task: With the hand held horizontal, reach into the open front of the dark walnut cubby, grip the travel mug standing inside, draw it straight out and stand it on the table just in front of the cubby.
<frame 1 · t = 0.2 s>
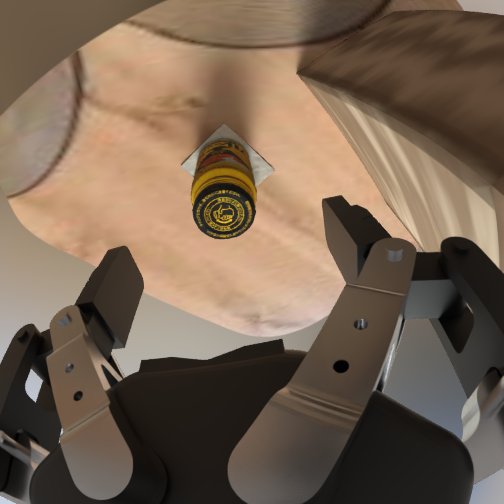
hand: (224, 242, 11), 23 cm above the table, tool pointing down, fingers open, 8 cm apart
condiment: (227, 166, 34), on the table
cubby: (399, 111, 30), on the table
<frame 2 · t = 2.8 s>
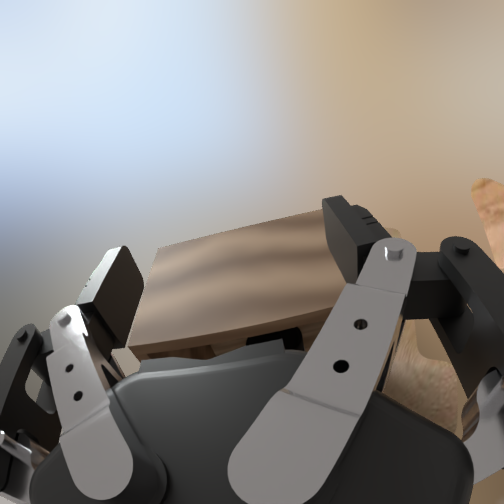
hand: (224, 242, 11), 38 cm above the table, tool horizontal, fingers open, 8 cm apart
travel mug: (294, 414, 41), on the table
cubby: (292, 405, 42), on the table
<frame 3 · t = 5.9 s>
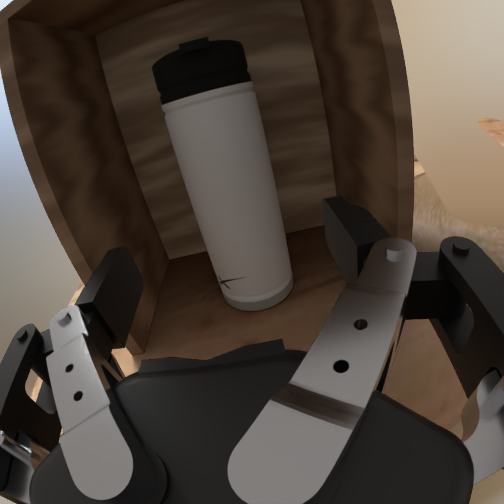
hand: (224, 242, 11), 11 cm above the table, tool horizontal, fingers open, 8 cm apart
travel mug: (259, 290, 26), on the table
cubby: (257, 278, 27), on the table
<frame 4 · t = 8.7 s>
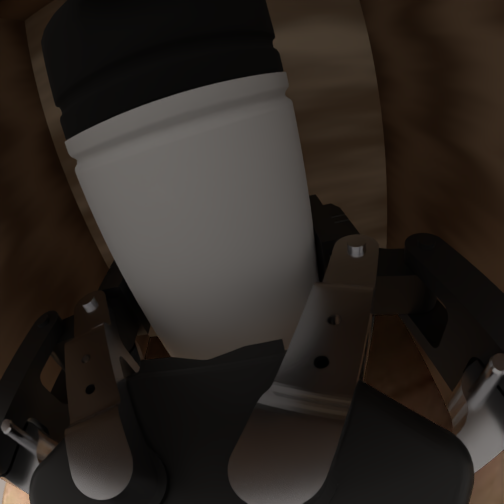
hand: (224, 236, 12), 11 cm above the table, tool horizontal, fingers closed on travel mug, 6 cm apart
travel mug: (276, 415, 16), on the table, touching gripper
cubby: (274, 393, 17), on the table
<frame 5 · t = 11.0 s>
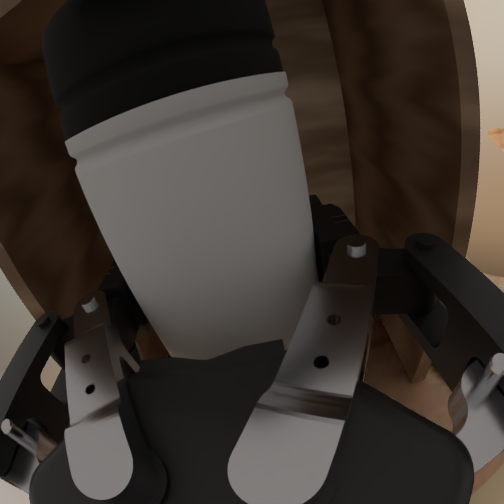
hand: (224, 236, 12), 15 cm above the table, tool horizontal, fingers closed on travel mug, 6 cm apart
travel mug: (276, 414, 16), point 4 cm above the table, touching gripper
cubby: (272, 348, 25), on the table
when the fingers open (12 cm above the table, at t = 13.3 s): travel mug stays where it is, on the table.
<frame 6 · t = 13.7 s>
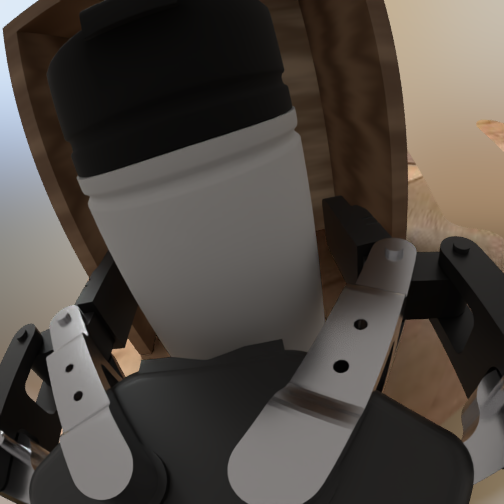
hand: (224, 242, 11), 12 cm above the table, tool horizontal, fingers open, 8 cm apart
travel mug: (280, 422, 16), on the table
cubby: (259, 281, 28), on the table
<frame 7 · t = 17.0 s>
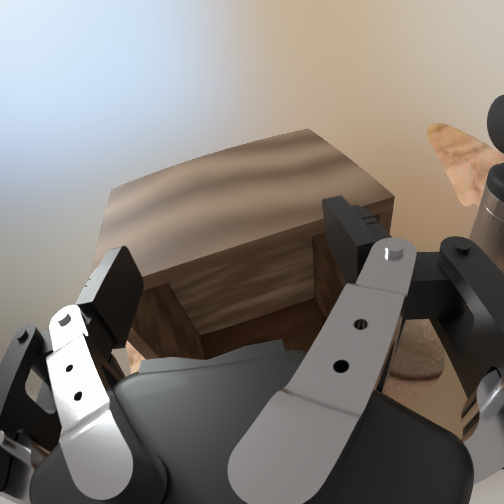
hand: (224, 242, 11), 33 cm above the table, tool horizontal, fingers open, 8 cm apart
cubby: (270, 352, 43), on the table
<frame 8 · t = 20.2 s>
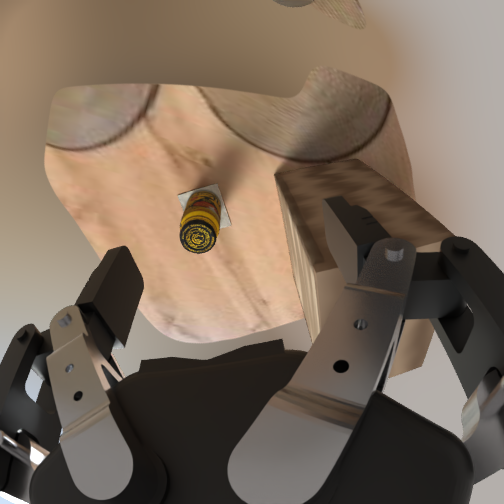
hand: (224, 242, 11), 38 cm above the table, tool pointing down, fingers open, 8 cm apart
condiment: (205, 209, 52), on the table
cubby: (327, 221, 54), on the table
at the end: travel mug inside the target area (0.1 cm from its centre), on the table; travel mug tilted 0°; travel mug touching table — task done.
